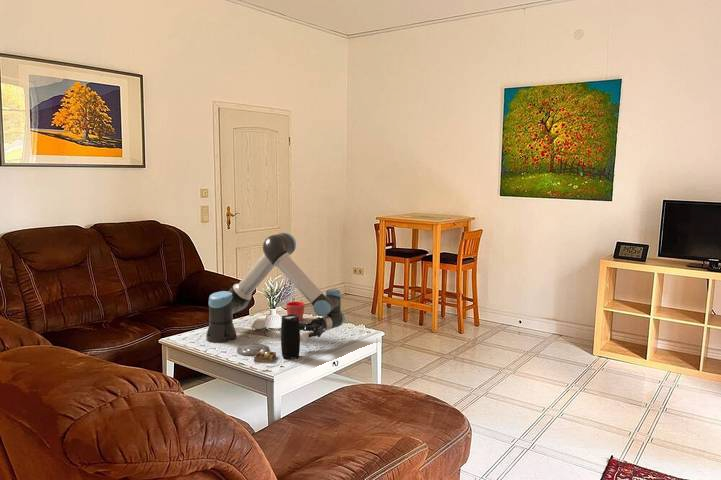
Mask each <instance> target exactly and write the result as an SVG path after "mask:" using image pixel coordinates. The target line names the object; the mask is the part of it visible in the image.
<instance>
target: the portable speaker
mask: <svg viewBox="0 0 721 480" xmlns="http://www.w3.org/2000/svg"><path fill="white" fill-rule="evenodd" d="M299 323H300V321H299V317H298V316H297V315H296V314H289V315H288V314H286V315H282V316H281V325H280V329H281V335H280V349H281V355H282V358H283V359H284V360H286V361H287V360H288V361H290V360H291V359H293V358H295V359H299V358H300V351H301V349H300V348H301V330H300V325H299Z"/></svg>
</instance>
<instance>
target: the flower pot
mask: <svg viewBox="0 0 721 480" xmlns="http://www.w3.org/2000/svg"><path fill="white" fill-rule="evenodd" d="M305 305H306V303H304V302H303V301H290V302H286V303H285V307H286V313H287V314H286V315H289V314H296V315H297V316H298V317H299V322H301V321H303V318H304V317H303V316H304V314H305V313H304V312H305V307H306V306H305Z"/></svg>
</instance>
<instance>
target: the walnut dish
mask: <svg viewBox="0 0 721 480" xmlns="http://www.w3.org/2000/svg"><path fill="white" fill-rule="evenodd" d="M269 352H270V354H271V356H270V357H264V356H261V355H260V351H259V352H258V353H257V354H256V355H255V356H253V362H255V363H273V361H274V360H275V358H276V357H277V352H276V351H269Z"/></svg>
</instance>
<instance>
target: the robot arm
mask: <svg viewBox="0 0 721 480" xmlns="http://www.w3.org/2000/svg"><path fill="white" fill-rule="evenodd" d="M262 243H263V244H262V252H263V254H262V255H261V256H260V257H259V259H257V261H256V262H255V264H254V265H253V266H252V267H251V268H250V269H249V270H248V272H247V273H246V274H245V276H244V277H242V279H241V280H240V281H239V283H234V284H233V285H232V287H231V288H230V289H229V290H228V291H227V290H222V291H221V290H220V291H217V292H216V291H215V292H213V293H211V294H210V295H209V297H208V319H209V320H208V321H209V325H208V327H207V331H206V334H205V340H207V341H208V342H212V343H226V342H231V341H234V340H236V339H237V331H236V328H235V325H234V322H233V319H234V317H233V315H234V314H236V313H238V312H241V311H243V310H245V309H246V308H247V307H248V305H249V303H250V301H251V299H252V298H253V297H252V294H253V293H254V291H255V290H256V289H257V288H258V287H259V286H260V284H261V283H262V282H263V281H264V280H265V279H266V277H267V276H268V275H269V274H270V273H271V271H272V270H273V269H274V268H276V267H277V268H278V269H279V270H280V271H281V272H282V273H283V274H284V275H285V277H286V278H287V279H288V280H289V281H290V282H291V283H292V285H293V286H294V287H295V288H296V289H297V290H298V291H299V292H300V293H301V294H302V295H303V296H304V298H305V299H306V300H307V301H308V302H309V303H310V304H311V306H312V307H313V308H312V309H313V312H314V313H315V314H316V315H317V316H318V317H315V318H313V319H312V320H311V322H308V323H307V322H306V321H302V322H299V325H300V331H303V332H304V333H302V334H301V335H302V336H301V337H302V339H301V340H302V341H305V340H308V339H311V338H313V337H317V338H320V337H321V336H322V335H323V333H326V331H329V330H331V329H332V330H333V329H335V328H338V327H340V326H342V325H344V324H345V321H346V317H345V315H344V313H343V312H342V311H341V309H342V308H341V306H342V304H341V303H342V301H341V300H342V293H341V290H340V289H337V288H330V289H327V290H326V291H325V294H324V293H323V291H321V289H320V288H319V287H317V286H316V284H315V283H314V282H313V280H311V279H310V278H309V277H308V275H306V273H305V272H304V271H303V270H302V269H301V268H300V267H299V266H298V265H297V264H296V262H295V261H294V260H293V259H292V258H291V256H290V255H292V254H293V253H294V252H295V251H296V247H297V243H296V239H295V237H294V236H293V235H292V234H290V233H288V232H279V233H277V234H273V235H270V236H267V238H265V239H264V241H263V242H262ZM280 336H281V328H280Z"/></svg>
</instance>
